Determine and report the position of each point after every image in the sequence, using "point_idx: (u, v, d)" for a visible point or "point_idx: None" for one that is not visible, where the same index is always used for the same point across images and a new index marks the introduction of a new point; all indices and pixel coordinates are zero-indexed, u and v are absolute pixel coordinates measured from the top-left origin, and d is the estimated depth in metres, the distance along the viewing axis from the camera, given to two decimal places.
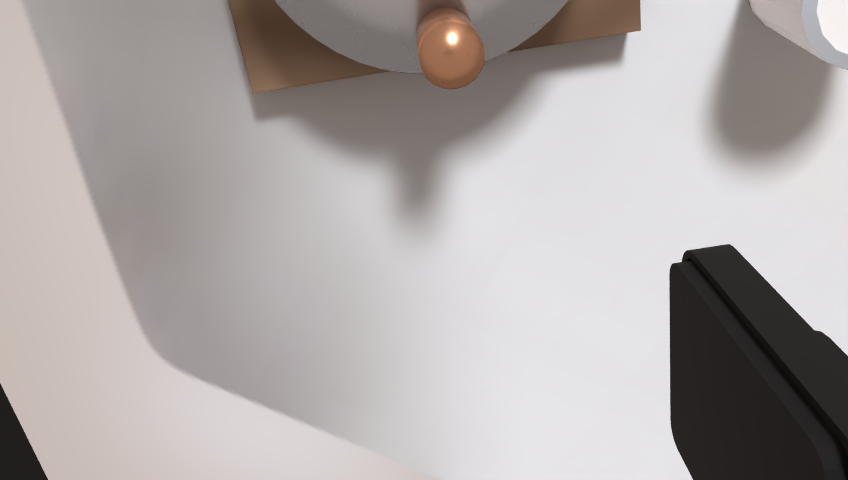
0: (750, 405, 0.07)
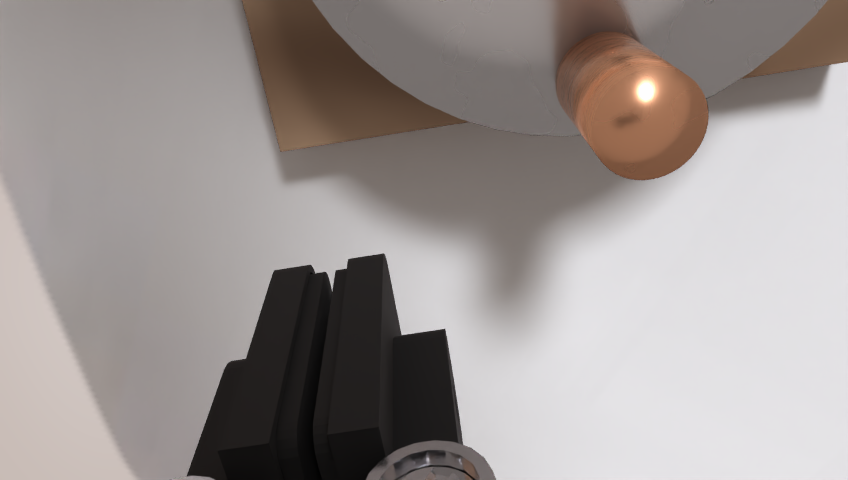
0: None
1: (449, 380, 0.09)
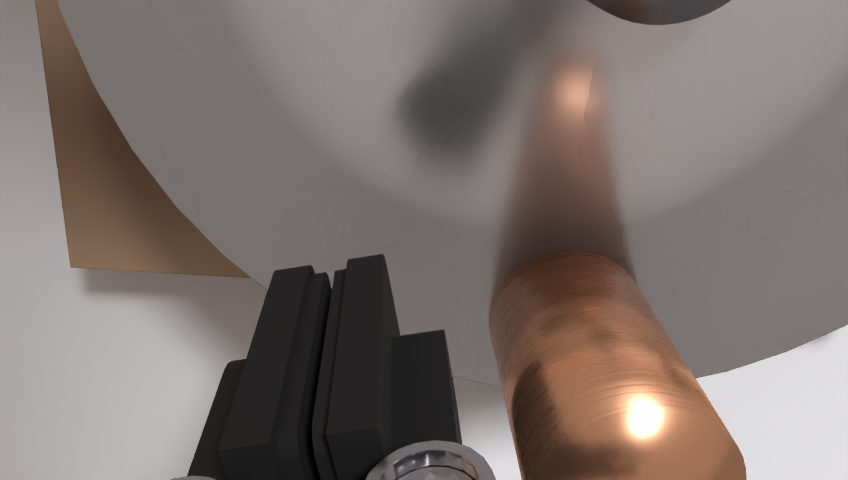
0: None
1: (449, 380, 0.09)
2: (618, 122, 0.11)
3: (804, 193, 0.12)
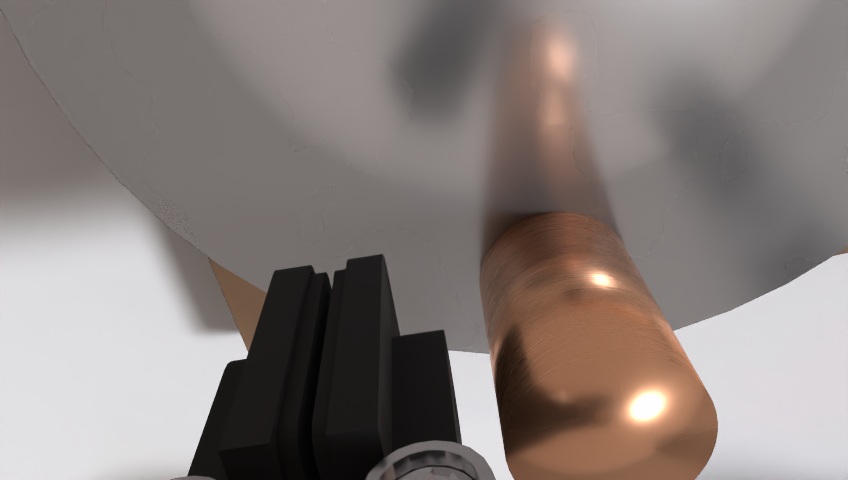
0: None
1: (448, 380, 0.09)
2: (567, 81, 0.11)
3: (773, 121, 0.11)
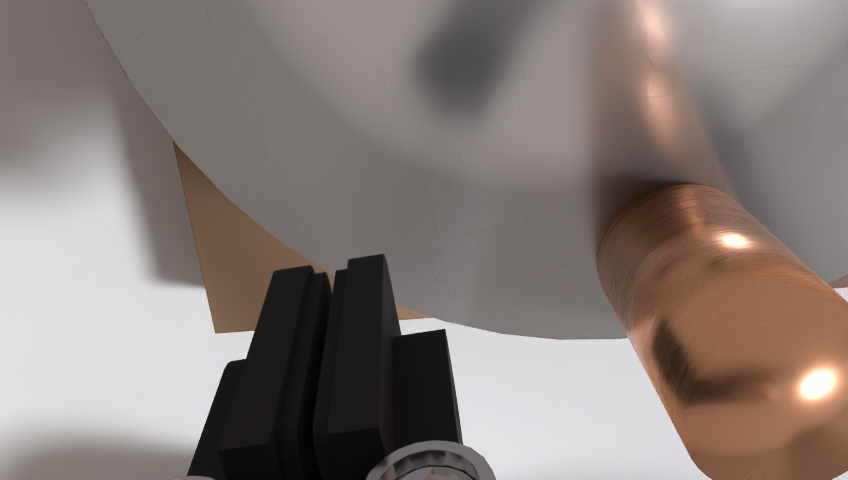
0: None
1: (449, 380, 0.09)
2: (681, 48, 0.11)
3: None
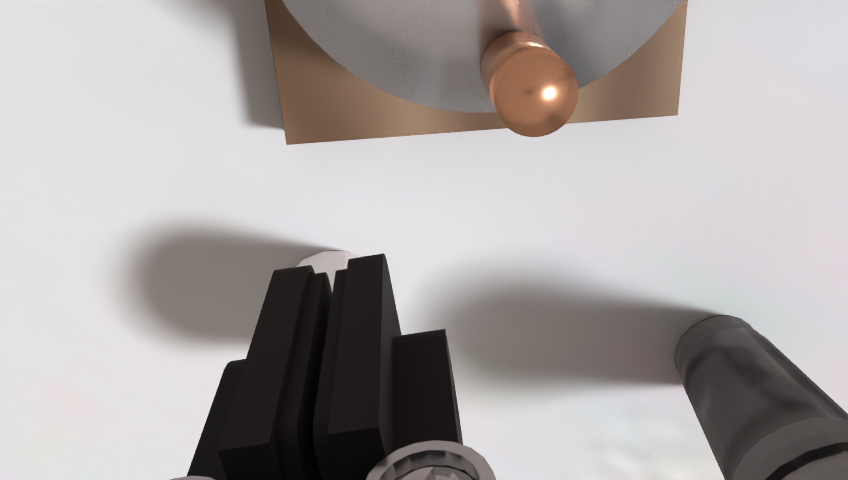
0: None
1: (449, 380, 0.09)
2: None
3: None
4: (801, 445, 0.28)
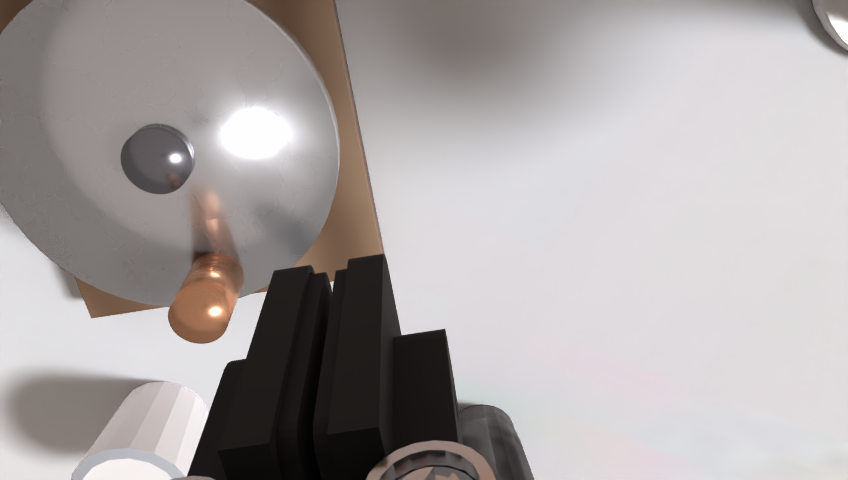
0: None
1: (449, 380, 0.09)
2: (193, 213, 0.35)
3: (264, 212, 0.35)
4: None
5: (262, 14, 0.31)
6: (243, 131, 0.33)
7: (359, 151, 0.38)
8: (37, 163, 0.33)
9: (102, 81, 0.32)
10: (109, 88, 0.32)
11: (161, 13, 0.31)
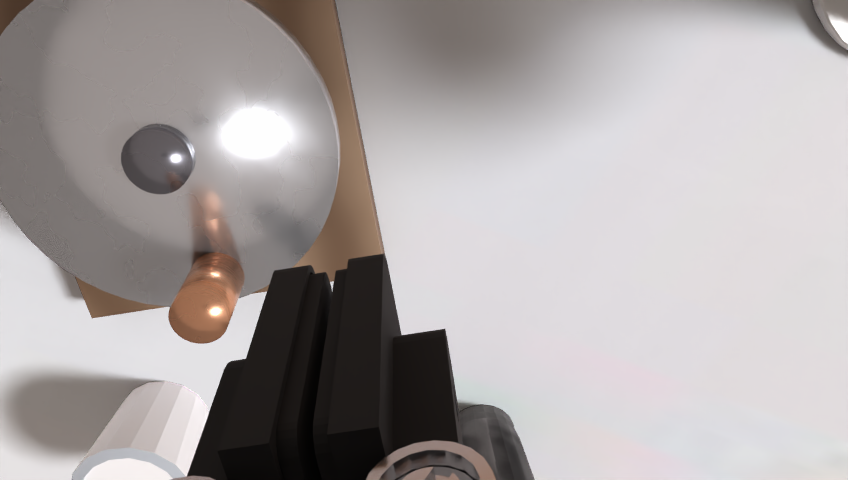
0: None
1: (449, 380, 0.09)
2: (193, 213, 0.35)
3: (264, 212, 0.35)
4: None
5: (262, 14, 0.31)
6: (243, 131, 0.33)
7: (359, 151, 0.38)
8: (37, 163, 0.33)
9: (102, 81, 0.32)
10: (109, 88, 0.32)
11: (161, 13, 0.31)
